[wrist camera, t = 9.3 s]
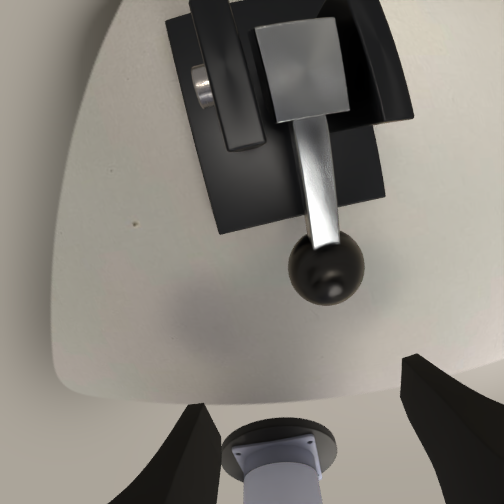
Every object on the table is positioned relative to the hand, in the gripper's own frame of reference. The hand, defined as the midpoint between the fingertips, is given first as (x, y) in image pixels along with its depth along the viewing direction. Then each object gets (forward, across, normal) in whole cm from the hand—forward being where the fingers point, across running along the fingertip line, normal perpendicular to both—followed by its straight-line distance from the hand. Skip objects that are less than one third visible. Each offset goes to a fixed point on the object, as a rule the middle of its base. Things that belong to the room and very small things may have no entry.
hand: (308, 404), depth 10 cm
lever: (+4, -2, -7) cm, 9 cm away
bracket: (+9, -2, -11) cm, 14 cm away
